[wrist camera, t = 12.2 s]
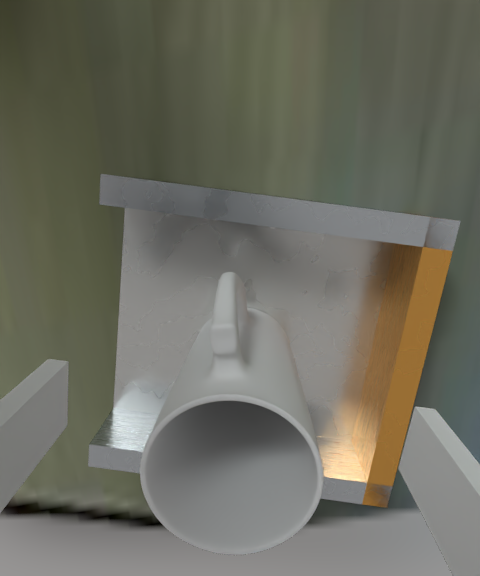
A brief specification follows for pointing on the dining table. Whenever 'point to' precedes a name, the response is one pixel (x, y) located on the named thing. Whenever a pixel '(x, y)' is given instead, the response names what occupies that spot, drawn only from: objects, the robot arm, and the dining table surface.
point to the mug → (234, 437)
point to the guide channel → (280, 313)
